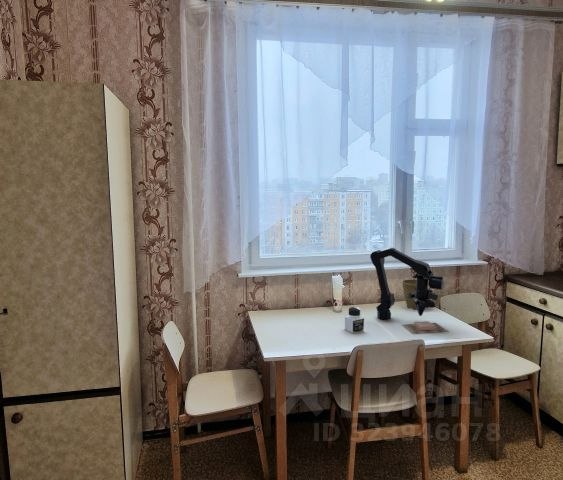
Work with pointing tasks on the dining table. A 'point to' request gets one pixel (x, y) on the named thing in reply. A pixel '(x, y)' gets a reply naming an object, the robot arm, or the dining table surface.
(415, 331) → the board
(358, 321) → the medicine bottle
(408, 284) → the plant pot
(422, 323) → the tile
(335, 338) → the dining table surface
